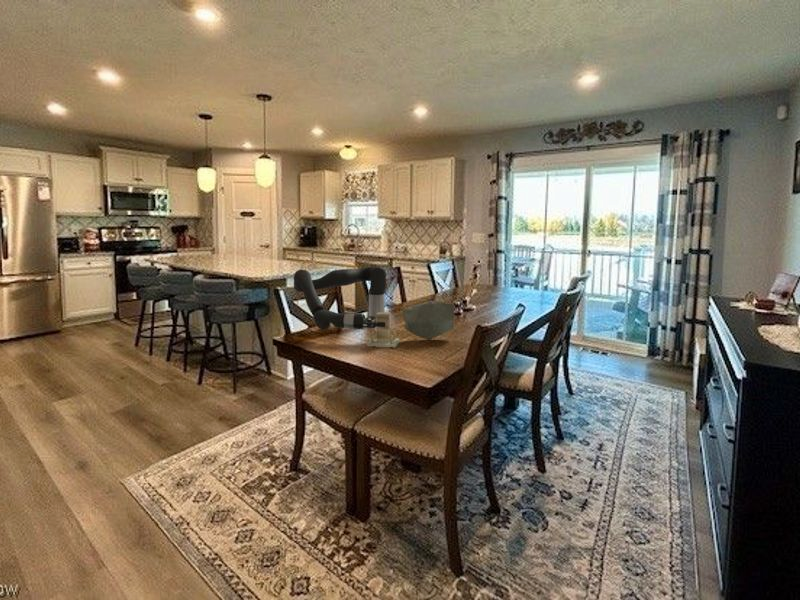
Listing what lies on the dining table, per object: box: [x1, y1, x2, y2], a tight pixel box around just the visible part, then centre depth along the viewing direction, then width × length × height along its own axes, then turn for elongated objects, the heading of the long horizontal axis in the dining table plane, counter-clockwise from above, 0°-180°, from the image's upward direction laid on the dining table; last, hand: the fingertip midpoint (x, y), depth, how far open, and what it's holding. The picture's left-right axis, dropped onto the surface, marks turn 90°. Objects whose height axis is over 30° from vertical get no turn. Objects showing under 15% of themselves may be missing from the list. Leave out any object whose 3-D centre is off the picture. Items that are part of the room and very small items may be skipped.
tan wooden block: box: [376, 311, 391, 343], centre depth 211 cm, size 4×6×14 cm, turn 81°
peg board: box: [366, 329, 400, 349], centre depth 212 cm, size 12×14×5 cm
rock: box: [401, 300, 456, 340], centre depth 218 cm, size 27×6×20 cm, turn 98°
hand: (386, 322), depth 210 cm, fingers open, 8 cm apart
